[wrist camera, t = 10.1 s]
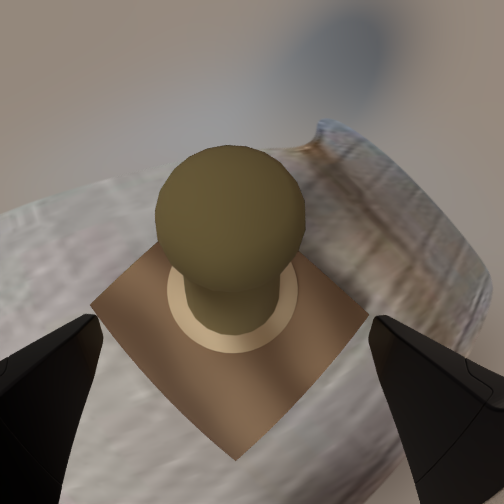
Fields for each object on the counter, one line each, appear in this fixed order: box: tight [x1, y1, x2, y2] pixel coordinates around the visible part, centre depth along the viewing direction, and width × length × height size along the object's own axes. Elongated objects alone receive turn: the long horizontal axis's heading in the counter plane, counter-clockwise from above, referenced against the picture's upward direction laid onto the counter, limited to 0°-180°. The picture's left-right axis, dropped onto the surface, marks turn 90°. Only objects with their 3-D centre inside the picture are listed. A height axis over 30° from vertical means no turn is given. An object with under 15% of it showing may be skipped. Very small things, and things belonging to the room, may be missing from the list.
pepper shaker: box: [155, 145, 306, 336], centre depth 14 cm, size 6×6×11 cm
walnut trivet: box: [90, 241, 369, 461], centre depth 19 cm, size 13×14×2 cm
